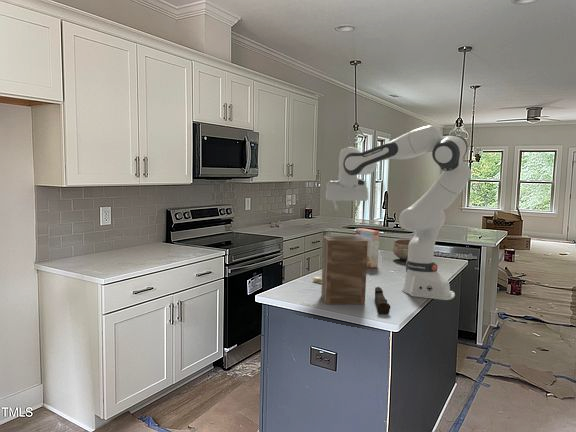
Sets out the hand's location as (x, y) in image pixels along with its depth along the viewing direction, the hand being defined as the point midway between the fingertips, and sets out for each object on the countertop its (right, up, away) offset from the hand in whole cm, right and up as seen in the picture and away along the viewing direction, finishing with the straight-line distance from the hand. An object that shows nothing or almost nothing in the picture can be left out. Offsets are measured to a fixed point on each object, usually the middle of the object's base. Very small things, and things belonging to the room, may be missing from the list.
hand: (346, 209), depth 214 cm
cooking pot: (+46, -31, +60) cm, 81 cm away
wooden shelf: (-5, -38, -28) cm, 48 cm away
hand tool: (+9, -40, -35) cm, 53 cm away
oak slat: (-7, -36, -4) cm, 37 cm away
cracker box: (+17, -32, +42) cm, 55 cm away
